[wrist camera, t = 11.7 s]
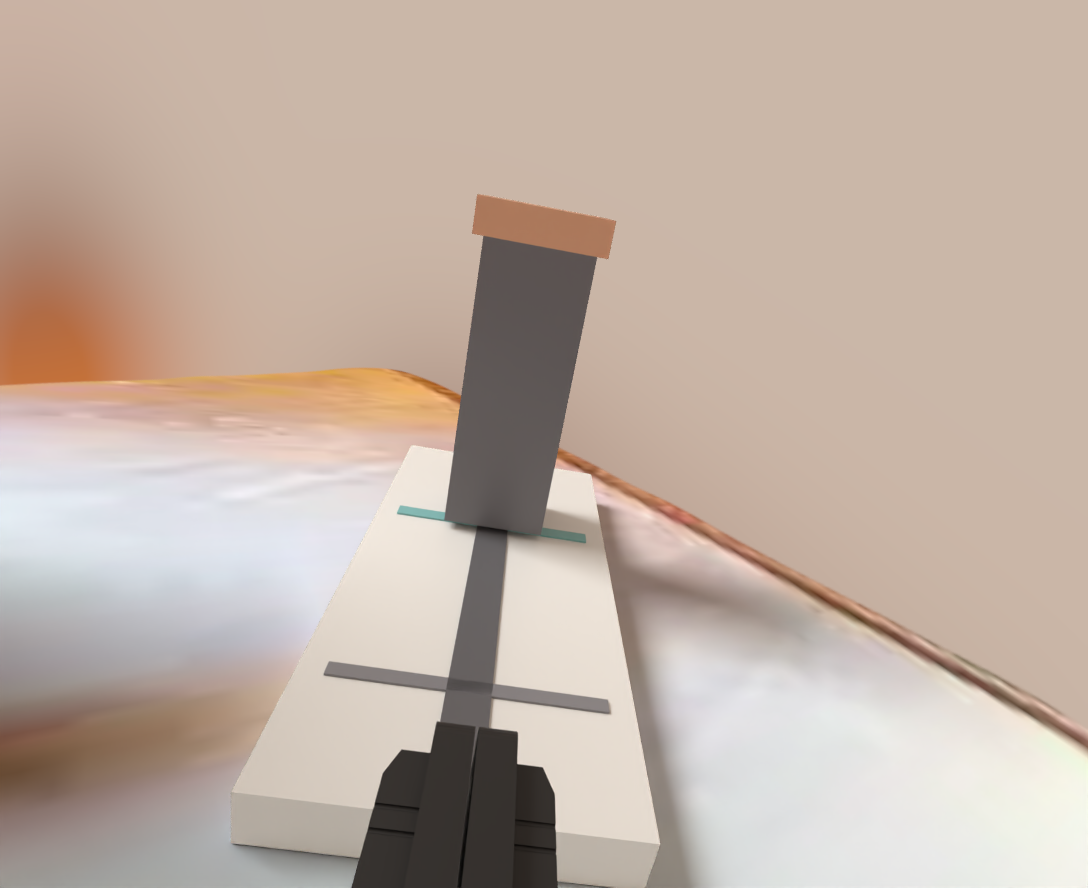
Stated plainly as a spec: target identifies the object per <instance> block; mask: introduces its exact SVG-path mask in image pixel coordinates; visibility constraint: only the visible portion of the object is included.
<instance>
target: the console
mask: <svg viewBox="0 0 1088 888" xmlns="http://www.w3.org/2000/svg"><path fill="white" fill-rule="evenodd" d="M453 453H454V452H451V451H445V450H439V449H433V448H427V447H421V446H414V445H412V446H411V448H410V449H409V451H408V453H407V455H406V457H405V459H404V461H403V463H402V465H401V467H400V469H399V471H398V472H397V474H396V476H395V478H394V480H393V482H392V484H391V486H390V488H389V490H388V492H387V494H386V495H385V497H384V499H383V501H382V503H381V505H380V507H379V509H378V511H377V513H376V515H375V517H374V519H373V520H372V522H371V524H370V526H369V528H368V530H367V532H366V534H365V536H364V538H363V540H362V542H361V543H360V545H359V547H358V549H357V551H356V553H355V555H354V557H353V559H352V561H351V563H350V565H349V567H348V568H347V570H346V572H345V574H344V576H343V578H342V580H341V582H340V584H339V586H338V588H337V590H336V591H335V593H334V595H333V597H332V599H331V601H330V603H329V605H328V607H327V609H326V611H325V613H324V615H323V616H322V618H321V620H320V622H319V624H318V626H317V628H316V630H315V632H314V634H313V636H312V638H311V639H310V641H309V643H308V645H307V647H306V649H305V651H304V653H303V655H302V657H301V659H300V661H299V662H298V664H297V666H296V668H295V670H294V672H293V674H292V676H291V678H290V680H289V682H288V684H287V686H286V687H285V689H284V691H283V693H282V695H281V697H280V699H279V701H278V703H277V705H276V707H275V709H274V710H273V712H272V714H271V716H270V718H269V720H268V722H267V724H266V726H265V728H264V730H263V732H262V734H261V735H260V737H259V739H258V741H257V743H256V745H255V747H254V749H253V751H252V753H251V755H250V757H249V758H248V760H247V762H246V764H245V766H244V768H243V770H242V772H241V774H240V776H239V778H238V780H237V782H236V783H235V785H234V787H233V789H232V791H231V843H234V844H242V845H251V846H260V847H268V848H277V849H285V850H294V851H302V852H311V853H320V854H328V855H337V856H345V857H354V858H360V855H361V851H362V848H363V844H364V840H365V836H366V833H367V830H368V825H369V822H370V818H371V814H372V811H373V808H374V804H375V800H376V796H377V792H378V789H379V785H380V781H381V778H382V774H383V772H384V771H385V770H386V768H387V767H388V766H389V764H390V763H391V762H392V761H393V759H394V758H395V757H396V756H397V754H398V753H399V752H400V751H401V749H403V750H411V751H418V752H426V753H430V752H431V747H432V742H433V737H434V732H435V727H436V722H437V721H439V722H447V723H454V724H462V725H470V726H475V737H474V746H473V754H474V748H475V743H476V738H477V732H478V728H479V727H486V728H494V729H501V730H509V731H517V732H518V754H517V764H522V765H529V766H537V767H543V769H544V771H545V773H546V775H547V778H548V780H549V782H550V784H551V787H552V789H553V791H554V793H555V814H556V825H555V830H556V855H557V881H560V882H569V883H577V884H586V885H594V886H603V887H612V888H645V887H646V884H647V881H648V878H649V876H650V873H651V870H652V867H653V864H654V861H655V858H656V856H657V853H658V850H659V847H660V840H659V834H658V829H657V824H656V818H655V813H654V808H653V802H652V797H651V792H650V786H649V781H648V776H647V770H646V765H645V760H644V754H643V749H642V744H641V738H640V733H639V728H638V722H637V717H636V712H635V706H634V701H633V696H632V690H631V685H630V680H629V675H628V669H627V664H626V659H625V653H624V648H623V643H622V637H621V632H620V627H619V621H618V616H617V611H616V605H615V600H614V595H613V589H612V584H611V579H610V573H609V568H608V563H607V557H606V552H605V547H604V541H603V536H602V531H601V525H600V520H599V515H598V509H597V504H596V499H595V493H594V488H593V483H592V477H591V474H586V473H580V472H574V471H568V470H562V469H555V468H554V472H553V477H552V482H551V487H550V492H549V497H548V502H547V507H546V512H545V517H544V522H543V527H542V532H541V535H536V534H530V533H523V532H517V531H510V530H504V529H497V528H491V527H484V526H478V525H472V524H465V523H459V522H452V521H446V520H444V518H445V510H446V503H447V496H448V489H449V482H450V474H451V467H452V460H453ZM473 754H472V759H473ZM471 765H472V762H471Z"/></svg>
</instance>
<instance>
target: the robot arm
mask: <svg viewBox="0 0 1088 888" xmlns="http://www.w3.org/2000/svg"><path fill="white" fill-rule="evenodd" d="M474 737H475V726H470V725H462V724H454V723H447V722H439V721H437V722H436V727H435V732H434V737H433V742H432V747H431V752H430V753H426V752H418V751H411V750H403V749H401V751H400V752H399V753H398V754H397V756H396V757H395V758H394V759H393V761H392V762H391V763H390V764H389V766H388V767H387V768H386V770H385V771H384V772H383V774H382V778H381V781H380V785H379V789H378V792H377V796H376V800H375V804H374V808H373V811H372V814H371V818H370V822H369V825H368V830H367V833H366V836H365V840H364V844H363V848H362V851H361V855H360V859H359V862H358V866H357V870H356V873H355V877H354V881H353V884H352V888H558V887H557V855H556V830H555V825H556V814H555V793H554V791H553V789H552V787H551V784H550V782H549V780H548V778H547V775H546V773H545V771H544V769H543V767H537V766H529V765H522V764H517V754H518V732H517V731H509V730H501V729H494V728H486V727H479V728H478V732H477V738H476V743H475V748H474V754H473V746H474ZM472 754H473V759H472ZM471 762H472V765H471Z"/></svg>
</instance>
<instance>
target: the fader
mask: <svg viewBox="0 0 1088 888" xmlns="http://www.w3.org/2000/svg"><path fill="white" fill-rule="evenodd" d="M615 225H616V221H614V220H610V219H607V218H602V217H597V216H592V215H586V214H581V213H576V212H571V211H565V210H560V209H555V208H550V207H545V206H540V205H534V204H529V203H524V202H519V201H514V200H508V199H503V198H498V197H493V196H488V195H480V194H478V195H477V201H476V208H475V216H474V223H473V230H472V234H477V235H482V236H483V244H482V251H481V258H480V265H479V273H478V280H477V288H476V294H475V302H474V309H473V316H472V323H471V330H470V337H469V345H468V352H467V360H466V366H465V373H464V381H463V388H462V395H461V402H460V409H459V417H458V424H457V431H456V438H455V445H454V453H453V460H452V467H451V474H450V482H449V489H448V496H447V503H446V510H445V518H444V520H446V521H452V522H459V523H465V524H472V525H478V526H484V527H491V528H497V529H504V530H510V531H517V532H523V533H530V534H536V535H541V532H542V527H543V522H544V517H545V512H546V507H547V502H548V497H549V492H550V487H551V482H552V477H553V472H554V467H555V462H556V458H557V453H558V448H559V442H560V437H561V433H562V428H563V423H564V418H565V413H566V408H567V403H568V398H569V393H570V388H571V383H572V379H573V374H574V369H575V364H576V359H577V353H578V349H579V344H580V339H581V334H582V329H583V324H584V319H585V314H586V309H587V304H588V300H589V295H590V290H591V285H592V280H593V275H594V270H595V265H596V260H597V257H599V258H605V259H608V258H609V253H610V249H611V243H612V239H613V234H614V229H615Z"/></svg>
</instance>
